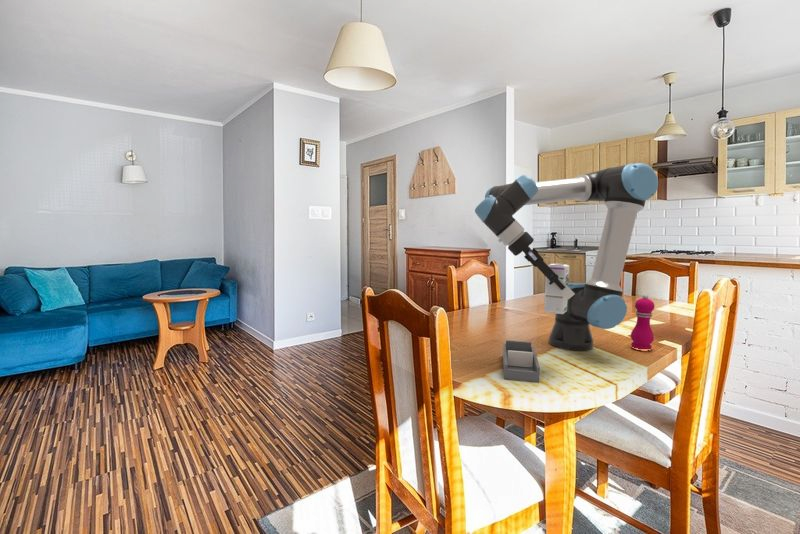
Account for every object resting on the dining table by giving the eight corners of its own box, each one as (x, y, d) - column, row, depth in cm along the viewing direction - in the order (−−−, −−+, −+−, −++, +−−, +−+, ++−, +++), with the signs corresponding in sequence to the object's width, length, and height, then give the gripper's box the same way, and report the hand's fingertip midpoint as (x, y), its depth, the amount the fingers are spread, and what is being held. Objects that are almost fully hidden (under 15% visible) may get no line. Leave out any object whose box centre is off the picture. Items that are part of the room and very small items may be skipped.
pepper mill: (651, 347, 149) (656, 293, 146) (654, 353, 142) (659, 296, 140) (628, 344, 152) (632, 291, 150) (630, 350, 145) (634, 295, 143)
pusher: (506, 359, 131) (507, 345, 131) (530, 361, 130) (531, 347, 129) (507, 365, 126) (507, 351, 125) (532, 367, 124) (533, 353, 123)
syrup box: (563, 314, 120) (567, 265, 119) (542, 311, 124) (546, 264, 122) (567, 311, 125) (570, 264, 124) (547, 308, 128) (550, 262, 127)
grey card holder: (502, 356, 137) (503, 339, 136) (532, 359, 134) (533, 342, 134) (504, 379, 117) (504, 359, 117) (539, 382, 115) (540, 362, 114)
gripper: (505, 245, 135) (554, 297, 134) (507, 248, 116) (564, 309, 114) (523, 230, 134) (572, 282, 132) (528, 230, 114) (585, 291, 113)
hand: (568, 294), depth 123 cm, fingers closed on syrup box, 7 cm apart
